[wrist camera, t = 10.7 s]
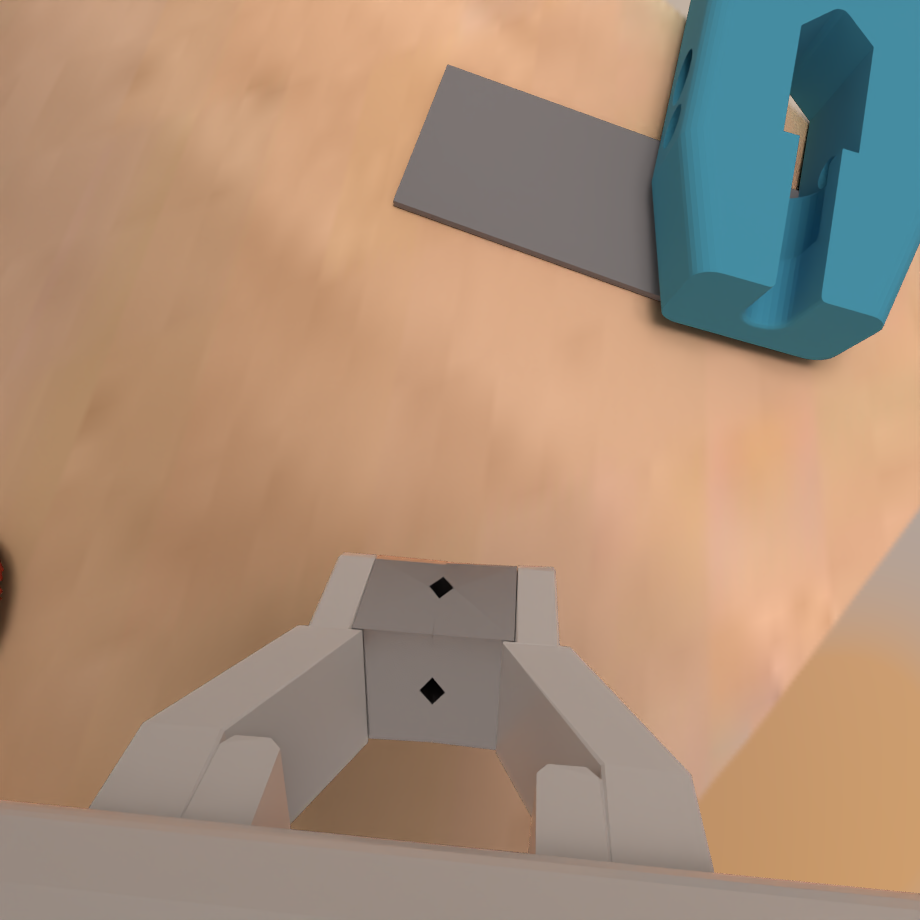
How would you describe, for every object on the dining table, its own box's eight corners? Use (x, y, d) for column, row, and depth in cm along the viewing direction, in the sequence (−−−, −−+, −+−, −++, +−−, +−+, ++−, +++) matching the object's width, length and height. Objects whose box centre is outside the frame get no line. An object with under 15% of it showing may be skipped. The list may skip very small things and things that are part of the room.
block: (856, 373, 34) (899, 41, 38) (934, 333, 29) (972, -42, 33) (620, 306, 33) (691, -22, 38) (659, 255, 28) (735, -115, 33)
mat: (393, 205, 35) (393, 200, 34) (447, 71, 36) (447, 64, 35) (770, 340, 35) (775, 337, 34) (809, 202, 36) (815, 197, 36)
